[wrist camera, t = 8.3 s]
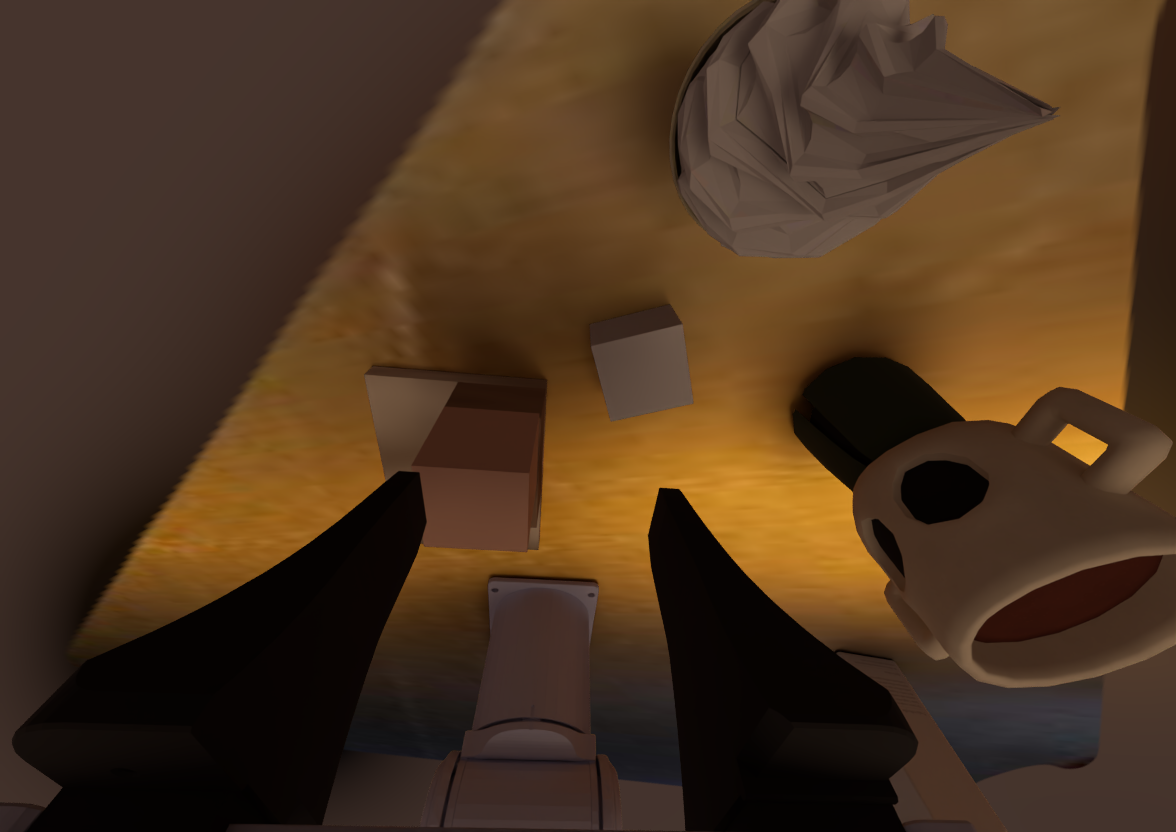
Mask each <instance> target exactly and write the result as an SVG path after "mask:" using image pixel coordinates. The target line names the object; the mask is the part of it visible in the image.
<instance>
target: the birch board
mask: <svg viewBox="0 0 1176 832" xmlns="http://www.w3.org/2000/svg"><path fill="white" fill-rule="evenodd" d="M364 377H365V382H366V386H367V391H368V396H369V401H370V406H371V411H372V416H373V421H374V426H375V430H376V435H377V440H378V445H379V450H380V455H381V460H382V465H383V470H384V474H385V479H386V481H387V480H388V479H389V478H391V477H392V476H393V475H394V474H395V473H397V472H398V471H409V472H412V467H411V465H412V463H413V462H414V460H415V458H416V456H417V454H418V453H419V451H420V449H421V447H422V445H423V444H424V442H425V440H426V438H427V437H428V435H429V433H430V431H431V429H432V428H433V426H434V424H435V422H436V420H437V419H438V417H439V415H440V413H441V412H442V410H443V408H444V406H445V404H446V403H447V401H448V399H449V397H450V395H451V394H452V392H453V390H454V388H455V387H456V385H457V383H458V382H465V383H478V384H491V385H504V386H517V387H530V388H543V389H546V395H547V380H542V379H529V378H517V377H504V376H491V375H479V374H466V373H453V372H441V371H428V370H415V369H403V368H390V367H377V366H372V367H371V368H370V369H369V370H368V371H367V372H366V373H365V374H364ZM546 395H545V415H546ZM544 436H545V416H544ZM543 457H544V438H543ZM542 478H543V459H542ZM541 499H542V481H541V496H540V504H539V512H538V520H537V528H530V535H529V543H528V549H530V550H538V548H539V539H540V519H541ZM421 543H422V544H424V542H423V537H422V540H421Z"/></svg>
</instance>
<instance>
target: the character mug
mask: <svg viewBox="0 0 1176 832" xmlns="http://www.w3.org/2000/svg"><path fill="white" fill-rule="evenodd" d="M803 396H804V397H805V398H806V399H807V400H808V401H809V402H810V403H811V404H812V405H813V406H814V407H815V408H814V409H813V410H812V412H811V418H810V422H809V421H808V420H807V419H806V418H805V417H804V416H803V415H802V414H800V413H799V412H798V411H797V410H796V409H795V411H794V413H793V422H794V433H795V435H796V436H797V437H798V438H799V440H800V441H801V442H802V443H803V445H804V446H805V447H806V448H807V449H808V450H809V451H810V452H811V453H812V454H813V455H814V457H815V458H816V459H817V460H818V461H819V462H820V463H821V464H822V465H823V466H824V467H825V468H826V469H827V470H829V471H830V472H831V473H832V474H833V475H834V476H835V477H837V478H838V479H839V480H840V481H841V482H842V483H843V484H845V485H846V486H847V487H848V488H849V489H850V490H851V491H852V492H853V516H854V520H855V525H856V530H857V532H858V534H859V536H860V538H861V540H862V542H863V544H864V545H865V547H866V549H867V551H868V553H869V554H870V555H871V556H872V557H873V558H874V560H875V561H876V562H877V563H878V564H879V565H880V567H881V568H882V569H883V570H884V572H885V573H886V574H887V576H888V577H889V578H890V581H889V582H888V583H887V585H886V588H885V591H884V594H885V597H886V599H887V602H888V604H889V605H890V606H891V608H892V609H893V611H894V612H895V614H896V615H897V617H898V618H899V620H900V621H901V622H902V624H903V625H904V627H905V628H906V630H907V631H908V633H909V634H910V635H911V637H912V638H913V640H914V641H915V643H916V644H917V646H918V647H919V648H920V649H922V650H923V651H924V652H925V653H926V654H927V655H928V656H930V657H931V658H933V659H934V660H940V659H944V658H947V657H948V656H950V657H951V658H952V659H953V660H954V661H955V662H956V663H957V664H958V665H959V667H961V668H962V669H963V670H964V671H966V672H967V673H968V674H969V675H971V676H972V677H973V678H974V679H975V680H977V681H980V682H984V683H989V684H993V685H997V686H1002V687H1006V688H1019V687H1046V686H1054V685H1058V684H1063V683H1068V682H1073V681H1078V680H1083V679H1088V678H1093V677H1098V676H1101V675H1103V674H1106V673H1109V672H1112V671H1115V670H1117V669H1120V668H1124V667H1127V666H1129V665H1132V664H1135V663H1138V662H1141V661H1144V660H1147V659H1149V658H1151V657H1153V656H1155V655H1156V654H1158V653H1160V652H1162V651H1164V650H1166V649H1168V648H1170V647H1172V646H1174V645H1176V517H1174V516H1173V515H1171V514H1169V513H1168V512H1166V511H1164V510H1163V509H1161V508H1159V507H1158V506H1156V505H1154V504H1152V503H1151V502H1149V501H1147V500H1146V499H1144V498H1143V497H1141V496H1139V495H1138V494H1136V493H1134V492H1133V491H1131V490H1132V489H1133V488H1134V487H1135V486H1136V485H1137V484H1138V483H1139V482H1140V481H1141V480H1143V479H1144V478H1145V477H1146V476H1147V475H1148V474H1149V473H1150V472H1151V471H1152V470H1154V469H1155V468H1156V467H1157V466H1158V465H1159V464H1160V463H1161V462H1162V461H1163V460H1164V459H1166V457H1167V455H1168V453H1169V450H1170V448H1171V446H1172V444H1173V443H1172V441H1171V439H1170V438H1168V437H1167V436H1166V435H1165V434H1164V433H1163V432H1162V431H1161V430H1160V429H1159V428H1157V427H1156V426H1155V425H1153V424H1151V423H1149V422H1146V421H1144V420H1142V419H1140V418H1138V417H1136V416H1133V415H1131V414H1129V413H1127V412H1125V411H1123V410H1121V409H1118V408H1116V407H1114V406H1112V405H1110V404H1108V403H1105V402H1103V401H1101V400H1099V399H1097V398H1095V397H1093V396H1090V395H1088V394H1086V393H1084V392H1082V391H1080V390H1077V389H1070V388H1063V387H1058V388H1056V389H1054V390H1051V391H1050V392H1048V393H1047V394H1045V395H1044V396H1042V397H1041V398H1039V399H1038V400H1037V401H1036V402H1035V403H1034V405H1033V406H1032V407H1031V408H1030V410H1029V411H1028V412H1027V413H1026V414H1025V416H1024V417H1023V418H1022V419H1021V421H1020V422H1019V423H1018V424H1017V425H1016V426H1014V425H1011V424H1008V423H1002V422H996V421H990V420H981V421H966V420H965V419H964V418H963V417H962V416H961V415H960V414H959V413H958V412H957V411H955V410H954V409H953V408H952V407H951V406H950V405H949V404H948V403H947V402H946V401H945V400H944V399H943V398H942V397H941V396H940V395H939V394H938V393H937V392H936V391H935V390H934V389H933V388H932V387H931V386H930V385H929V384H927V383H926V382H925V381H924V380H923V379H922V378H920V377H919V376H918V375H917V374H916V373H915V372H913V371H912V370H911V369H910V368H909V367H907V366H905V365H902V364H900V363H898V362H895V361H893V360H891V359H888V358H886V357H854V358H852V359H850V360H847V361H845V362H843V363H841V364H838V365H836V366H834V367H831V368H829V369H827V370H825V371H824V372H823V373H822V374H821V375H820V376H819V377H817V378H816V379H815V380H814V381H813V382H812V383H811V384H810V385H809V386H807V387H806V388H805V390H804V392H803ZM1067 424H1071V425H1073V426H1075V427H1077V428H1078V429H1080V430H1082V431H1084V432H1086V433H1088V434H1089V435H1091V436H1093V437H1095V438H1097V439H1099V440H1101V441H1102V442H1104V443H1106V444H1108V447H1107V449H1106V451H1105V452H1104V453H1103V454H1102V455H1101V456H1100V457H1099V458H1098V459H1097V460H1096V461H1095V462H1094V463H1093V464H1092V465H1091V466H1089V465H1088V464H1086V463H1084V462H1083V461H1081V460H1079V459H1078V458H1076V457H1074V456H1073V455H1071V454H1070V453H1068V452H1066V451H1065V450H1063V449H1061V448H1060V447H1058V446H1056V445H1055V444H1053V443H1051V442H1052V441H1053V440H1054V439H1055V438H1056V437H1057V435H1058V434H1059V433H1060V432H1061V431H1062V430H1063V429H1064V428H1065V426H1066V425H1067Z"/></svg>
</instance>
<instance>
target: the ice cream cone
mask: <svg viewBox="0 0 1176 832" xmlns="http://www.w3.org/2000/svg"><path fill="white" fill-rule="evenodd" d="M947 26H948V24H947V22H946V19H945V17H944V16H934V14H932V15H930V16H928V17H926V18H924V19H922V20H920V21H918V22H916V23H914V24H910V19H909V0H752V1H751V2H749V3H748V4H746V5H744V6H743V7H741V8H740V9H738V10H737V11H735V12H734V13H733V14H732V15H731V16H730V17H729V18H728V19H727V20H725V21H724V22H723V23H722V24H721V25H720V26H719V27H718V28H717V29H716V30H715V31H714V33H713V34H712V35H711V36H710V37H709V39H708V40H707V41H706V42H705V44H704V45H703V46H702V47H701V49H700V51H699V52H698V54H697V56H696V57H695V59H694V61H693V62H692V64H691V66H690V67H689V69H688V71H687V73H686V76H685V78H684V81H683V83H682V85H681V88H680V90H679V92H678V96H677V100H676V103H675V107H674V111H673V114H672V121H671V129H670V137H669V149H670V164H671V170H672V176H673V181H674V184H675V186H676V189H677V192H678V195H679V198H680V199H681V201H682V203H683V205H684V206H685V208H686V210H687V212H688V213H689V214H690V216H691V217H692V218H693V219H694V220H695V221H696V223H697V224H698V225H699V226H700V227H702V228H703V229H704V230H705V231H706V232H707V233H708V234H709V235H710V236H711V237H713V238H714V239H716V240H717V241H719V242H720V243H721V246H723V247H726V248H728V249H730V250H732V251H733V252H734V253H736V254H737V255H739V256H759V257H771V258H809V257H821V256H823V255H824V254H826V253H828V252H829V251H831V250H833V249H835V248H836V247H838V246H840V245H841V244H843V243H845V242H846V241H848V240H850V239H852V238H853V237H855V236H857V235H858V234H860V233H862V232H863V231H865V230H867V229H869V228H870V227H872V226H874V225H875V224H876V223H877V222H879V221H880V220H881V219H882V218H887V217H888V216H890V215H891V214H893V213H895V212H896V211H897V210H899V209H900V208H901V207H902V206H903V205H904V204H905V203H906V202H908V201H909V200H910V199H911V198H912V197H913V196H914V195H915V194H917V193H918V192H919V191H920V190H921V189H922V188H923V187H925V186H926V185H927V184H928V183H929V182H930V181H931V180H932V179H934V178H935V177H936V176H937V175H938V174H939V173H941V172H943V171H944V170H946V169H948V168H950V167H952V166H954V165H955V164H957V163H959V162H961V161H963V160H965V159H966V158H968V157H970V156H972V155H974V154H976V153H978V152H980V151H982V150H984V149H986V148H988V147H990V146H992V145H994V144H996V143H998V142H1000V141H1002V140H1004V139H1006V138H1008V137H1009V136H1011V135H1013V134H1016V133H1019V132H1021V131H1024V130H1026V129H1029V128H1032V127H1034V126H1037V125H1039V124H1042V123H1045V122H1047V121H1050V120H1052V119H1053V118H1055V117H1058V116H1059V115H1052V114H1054V113H1055V112H1056V111H1057V110H1058V109H1059V108H1060V107H1057V108H1052V107H1051V106H1050V105H1048V104H1046V103H1044V102H1043V101H1041V100H1039V99H1037V98H1035V97H1033V96H1031V95H1029V94H1027V93H1025V92H1023V91H1021V90H1019V89H1017V88H1015V87H1013V86H1011V85H1009V84H1007V83H1005V82H1003V81H1001V80H1000V79H998V78H996V77H994V76H992V75H990V74H988V73H986V72H984V71H982V70H980V69H978V68H976V67H973V66H971V65H970V64H968V63H966V62H965V61H963V60H962V59H960V58H958V57H957V56H955V55H954V54H952V53H950V52H949V51H947V50H945V42H946V34H947Z"/></svg>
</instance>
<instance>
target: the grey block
mask: <svg viewBox="0 0 1176 832" xmlns="http://www.w3.org/2000/svg"><path fill="white" fill-rule="evenodd" d="M590 339H591V349H592V352H593V356H594V360H595V364H596V367H597V371H598V375H599V379H600V383H601V386H602V390H603V394H604V398H605V402H606V405H607V409H608V413H609V417H610V420H611V421H616V420H620V419H625V418H630V417H634V416H639V415H643V414H648V413H652V412H657V411H661V410H666V409H670V408H675V407H680V406H684V405H689V404H693V396H692V389H691V382H690V375H689V367H688V360H687V353H686V346H685V338H684V331H683V324H682V322H681V321H680V319H679V318H678V316H677V314H676V313H675V311H674V310H673V308H672V306H671V305H670V304H669V305H665V306H661V307H657V308H653V309H649V310H645V311H641V312H637V313H633V314H629V315H625V316H621V317H617V318H613V319H609V320H605V321H601V322H597V323H593V324H590Z"/></svg>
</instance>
